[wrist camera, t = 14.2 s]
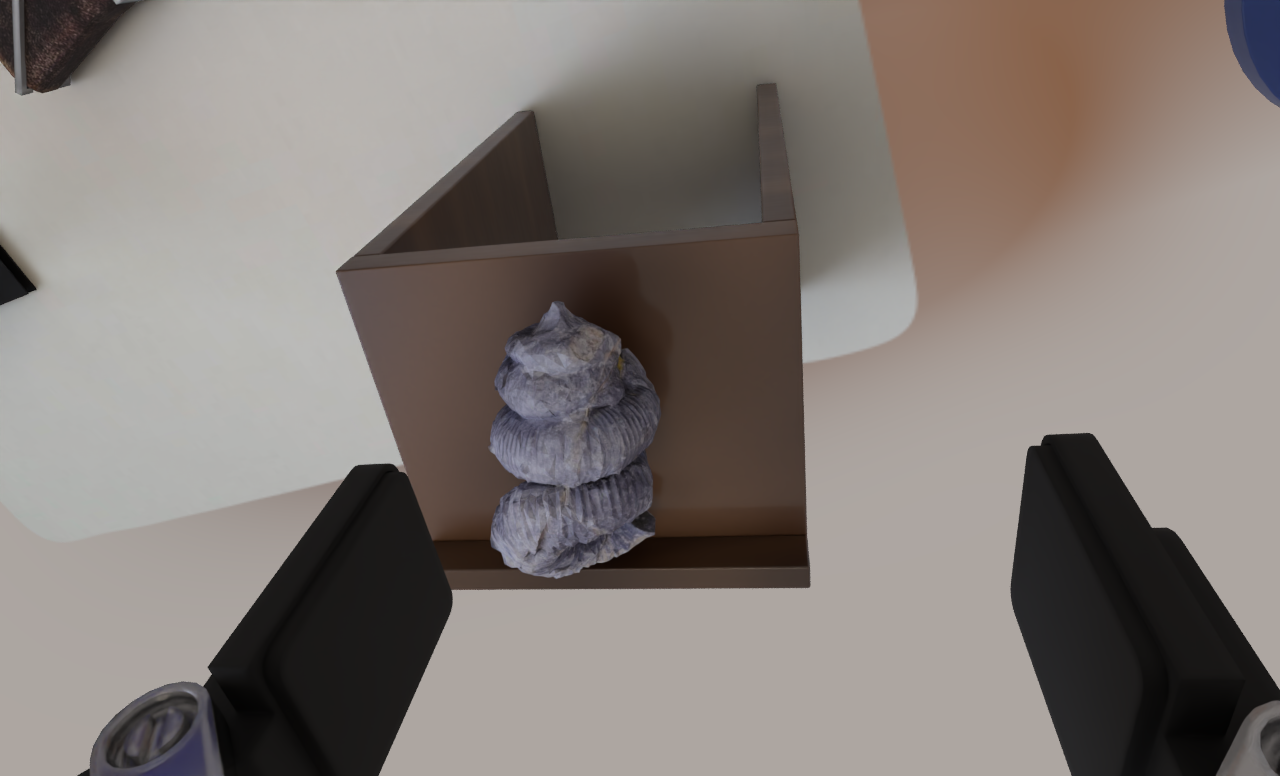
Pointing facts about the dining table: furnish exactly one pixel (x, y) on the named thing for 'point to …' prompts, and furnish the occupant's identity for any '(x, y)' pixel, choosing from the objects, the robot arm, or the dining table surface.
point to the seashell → (572, 447)
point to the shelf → (648, 326)
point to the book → (52, 38)
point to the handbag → (12, 279)
